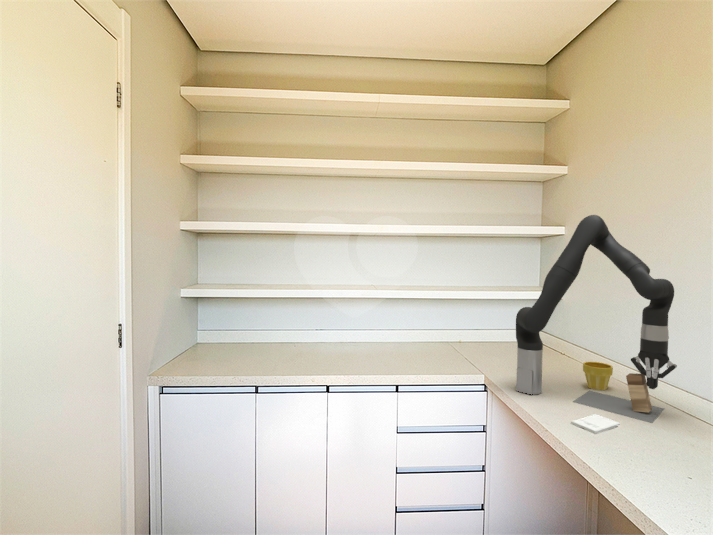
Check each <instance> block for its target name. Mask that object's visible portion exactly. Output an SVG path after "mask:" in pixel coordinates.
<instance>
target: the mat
mask: <svg viewBox="0 0 713 535" xmlns="http://www.w3.org/2000/svg"><path fill="white" fill-rule="evenodd" d="M572 403H575V404H578V405H583V406H586V407H590V408H594V409H598V410H601V411H605V412H609V413H611V414H612V413H613V414H616V415H620V416H623V417H626V418H627V417H628V418H632V419H634V420H638V421H643V422H646V423H648V424H649V423H650V424H653V423H654V422H655V420H657V418H658V417H659V416H660V415H661V414H662V413H663V412H664V410H665V408H664V407H660V406H656V405H652V404H651V406H652V410H651V411H650V412H637V411H633V408H632V403H631V399H626V398H623V397H620V396H615V395H610V394H605V393H601V392H598V391H593V390H588V391H587V392H585V393H583V394H582V395H580V396H579V397H577V398H576V399H575V400H572Z"/></svg>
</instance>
